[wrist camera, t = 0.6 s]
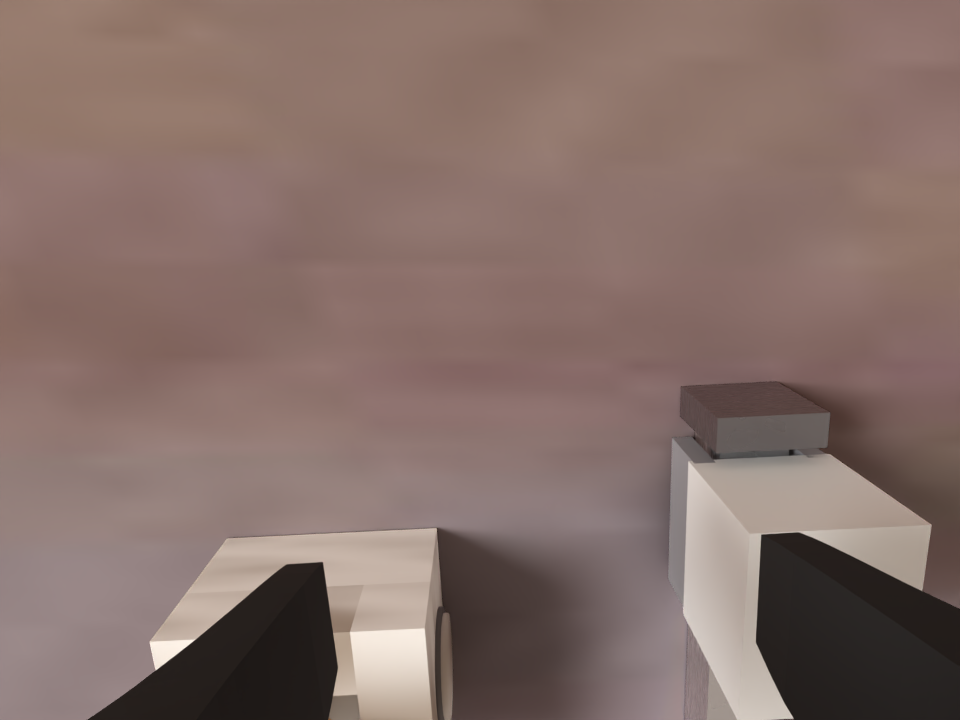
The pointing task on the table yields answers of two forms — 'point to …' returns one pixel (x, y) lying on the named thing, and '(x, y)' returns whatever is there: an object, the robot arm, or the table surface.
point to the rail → (730, 435)
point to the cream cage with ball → (345, 615)
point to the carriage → (737, 541)
